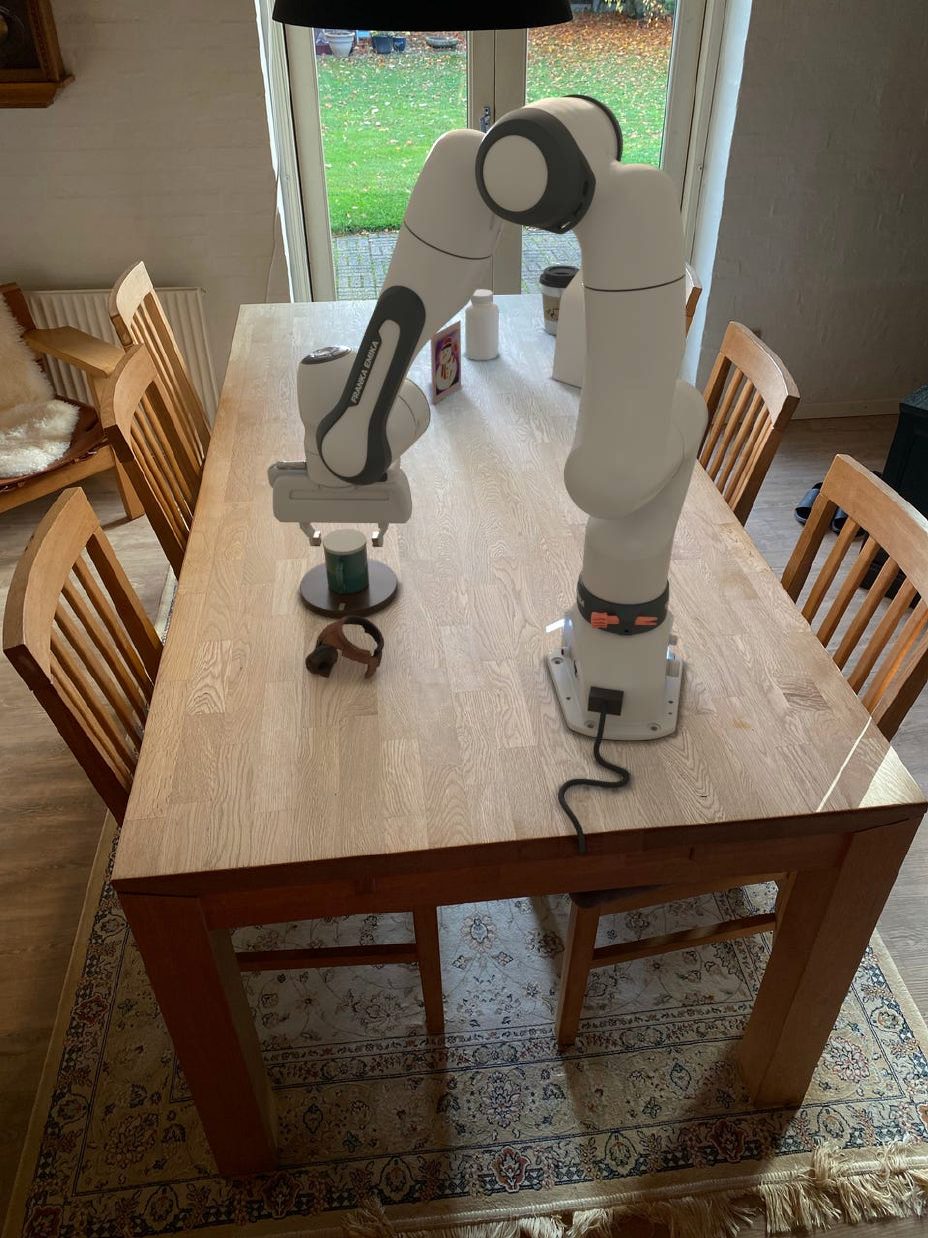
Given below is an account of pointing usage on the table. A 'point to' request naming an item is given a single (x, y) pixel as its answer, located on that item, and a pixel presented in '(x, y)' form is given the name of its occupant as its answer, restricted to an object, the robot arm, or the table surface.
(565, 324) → the milk
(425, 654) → the table surface
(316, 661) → the brown strap loop
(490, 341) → the pill bottle
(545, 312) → the coffee cup
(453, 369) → the greeting card
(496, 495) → the table surface
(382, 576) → the turntable
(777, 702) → the table surface
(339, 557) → the green lidded mug
